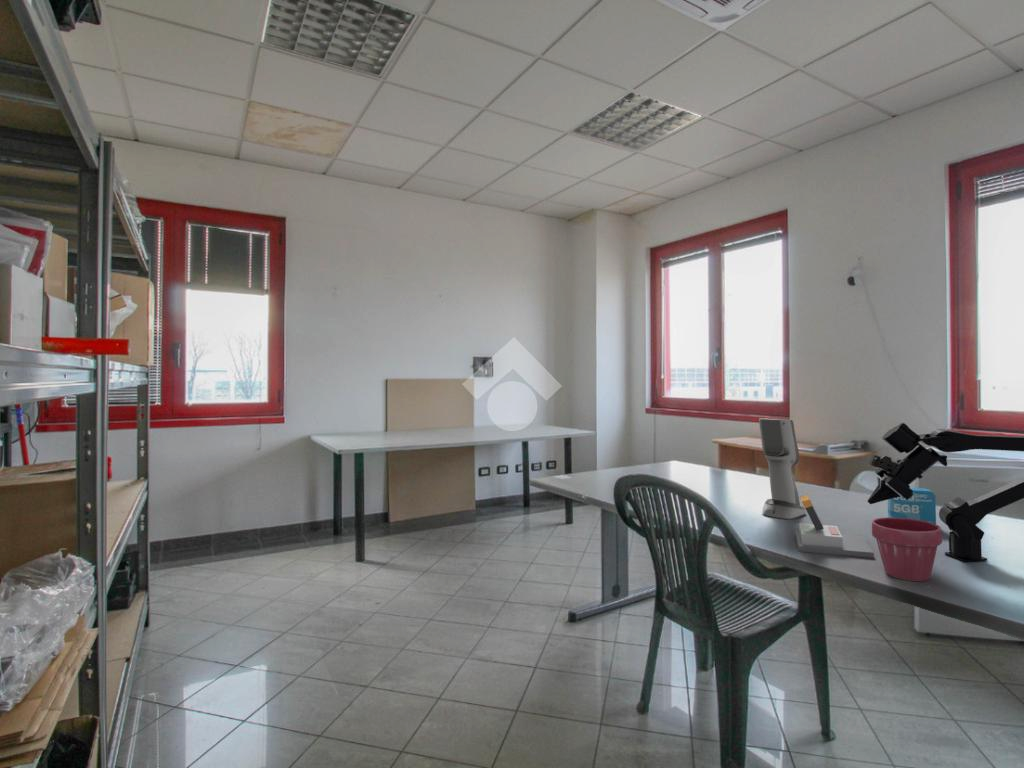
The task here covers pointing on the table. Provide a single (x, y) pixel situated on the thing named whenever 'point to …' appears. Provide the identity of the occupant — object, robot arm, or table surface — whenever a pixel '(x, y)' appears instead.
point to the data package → (914, 506)
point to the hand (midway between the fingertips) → (868, 502)
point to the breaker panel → (847, 549)
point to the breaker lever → (811, 512)
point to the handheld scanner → (781, 468)
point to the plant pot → (907, 546)
